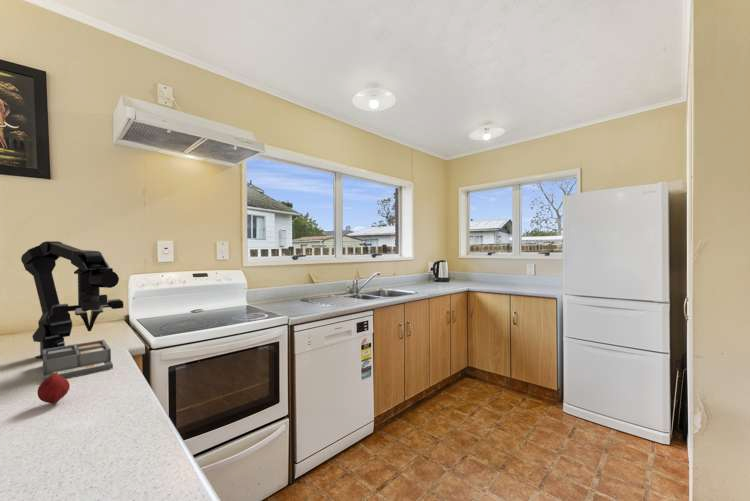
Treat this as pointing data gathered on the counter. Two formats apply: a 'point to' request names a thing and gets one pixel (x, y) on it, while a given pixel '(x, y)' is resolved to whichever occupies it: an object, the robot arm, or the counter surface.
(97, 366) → the grey compartment tray
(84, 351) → the sand key
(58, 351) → the slate key
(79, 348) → the terracotta key
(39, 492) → the counter surface
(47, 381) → the onion
